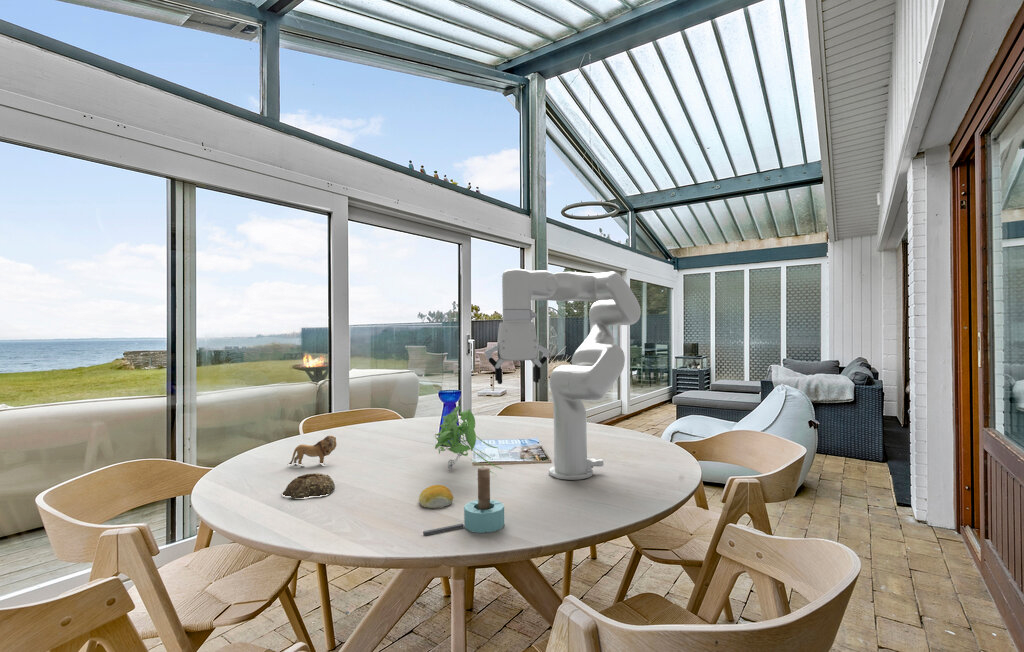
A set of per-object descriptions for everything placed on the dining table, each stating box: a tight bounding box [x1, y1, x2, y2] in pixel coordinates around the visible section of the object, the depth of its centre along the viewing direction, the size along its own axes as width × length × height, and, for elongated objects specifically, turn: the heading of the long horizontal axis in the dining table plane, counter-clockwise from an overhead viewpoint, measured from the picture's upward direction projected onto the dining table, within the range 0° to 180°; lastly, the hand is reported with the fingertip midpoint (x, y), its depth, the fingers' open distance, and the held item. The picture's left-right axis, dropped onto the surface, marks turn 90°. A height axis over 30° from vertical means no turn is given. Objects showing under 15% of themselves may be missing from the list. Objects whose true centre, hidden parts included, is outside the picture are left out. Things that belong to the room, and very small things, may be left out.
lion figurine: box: [288, 435, 338, 465], centre depth 155 cm, size 15×5×9 cm, turn 109°
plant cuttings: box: [434, 405, 503, 476], centre depth 149 cm, size 35×17×22 cm
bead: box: [463, 499, 505, 534], centre depth 105 cm, size 8×8×4 cm
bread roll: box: [418, 484, 454, 509], centre depth 120 cm, size 8×9×4 cm
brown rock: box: [282, 472, 335, 499], centre depth 129 cm, size 13×12×5 cm
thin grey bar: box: [422, 523, 465, 536], centre depth 102 cm, size 9×1×1 cm, turn 117°
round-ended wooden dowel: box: [477, 466, 491, 510], centre depth 105 cm, size 3×3×12 cm
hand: (517, 382), depth 127 cm, fingers open, 9 cm apart
